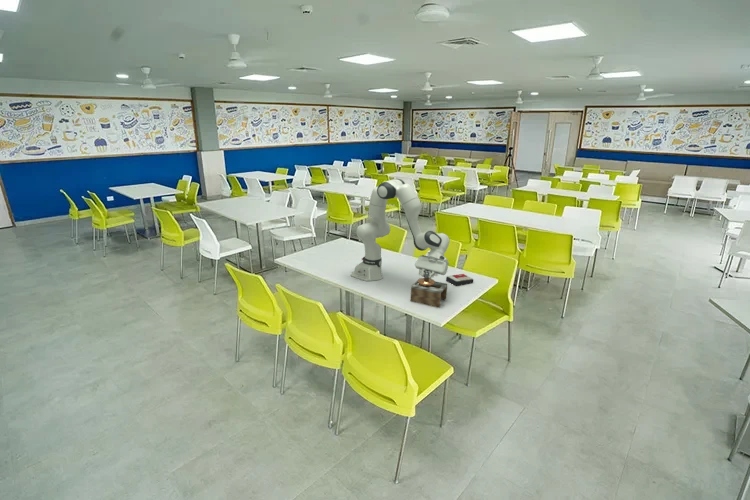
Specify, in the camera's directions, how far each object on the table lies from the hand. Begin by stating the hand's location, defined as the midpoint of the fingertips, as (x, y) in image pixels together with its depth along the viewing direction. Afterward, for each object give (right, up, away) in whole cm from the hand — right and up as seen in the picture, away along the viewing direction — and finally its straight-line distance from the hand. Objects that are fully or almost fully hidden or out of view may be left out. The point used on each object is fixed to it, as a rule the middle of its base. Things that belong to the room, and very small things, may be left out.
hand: (426, 277), depth 228 cm
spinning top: (0, -8, +3) cm, 9 cm away
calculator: (+27, -6, +34) cm, 44 cm away
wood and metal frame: (+2, -14, +4) cm, 15 cm away
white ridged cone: (+7, -1, +46) cm, 47 cm away
